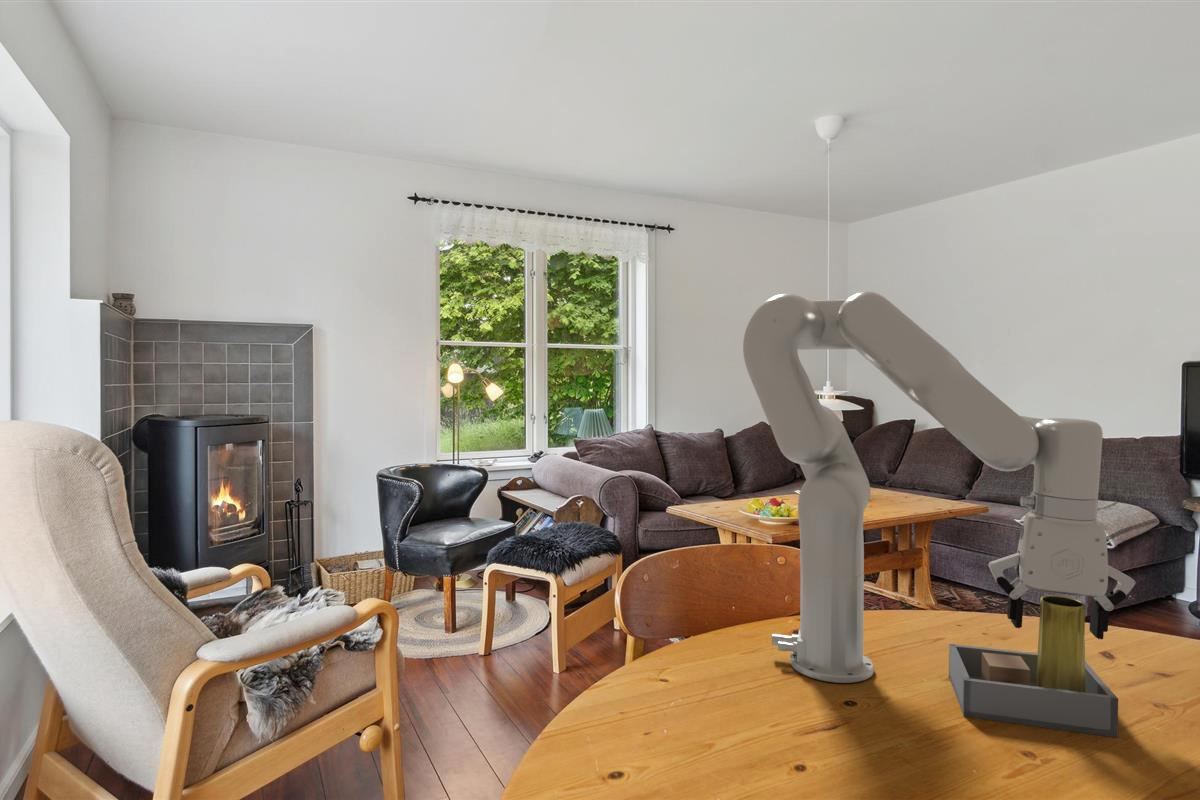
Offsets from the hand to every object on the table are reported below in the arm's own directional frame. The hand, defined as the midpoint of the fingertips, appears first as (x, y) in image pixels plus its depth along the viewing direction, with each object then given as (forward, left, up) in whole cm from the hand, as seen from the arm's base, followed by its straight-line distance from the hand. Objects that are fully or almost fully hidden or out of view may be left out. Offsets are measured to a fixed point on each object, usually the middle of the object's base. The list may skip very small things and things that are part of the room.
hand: (1055, 630), depth 97 cm
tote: (-4, 0, -11) cm, 11 cm away
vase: (+1, 0, -10) cm, 10 cm away
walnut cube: (-6, 0, -10) cm, 12 cm away
